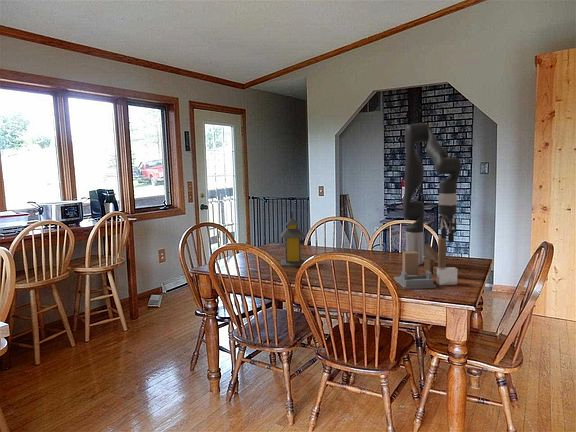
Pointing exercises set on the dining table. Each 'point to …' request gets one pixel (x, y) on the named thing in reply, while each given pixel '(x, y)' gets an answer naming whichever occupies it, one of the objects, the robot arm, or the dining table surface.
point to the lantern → (292, 243)
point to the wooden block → (435, 256)
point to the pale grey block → (447, 276)
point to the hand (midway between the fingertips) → (447, 240)
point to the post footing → (413, 273)
